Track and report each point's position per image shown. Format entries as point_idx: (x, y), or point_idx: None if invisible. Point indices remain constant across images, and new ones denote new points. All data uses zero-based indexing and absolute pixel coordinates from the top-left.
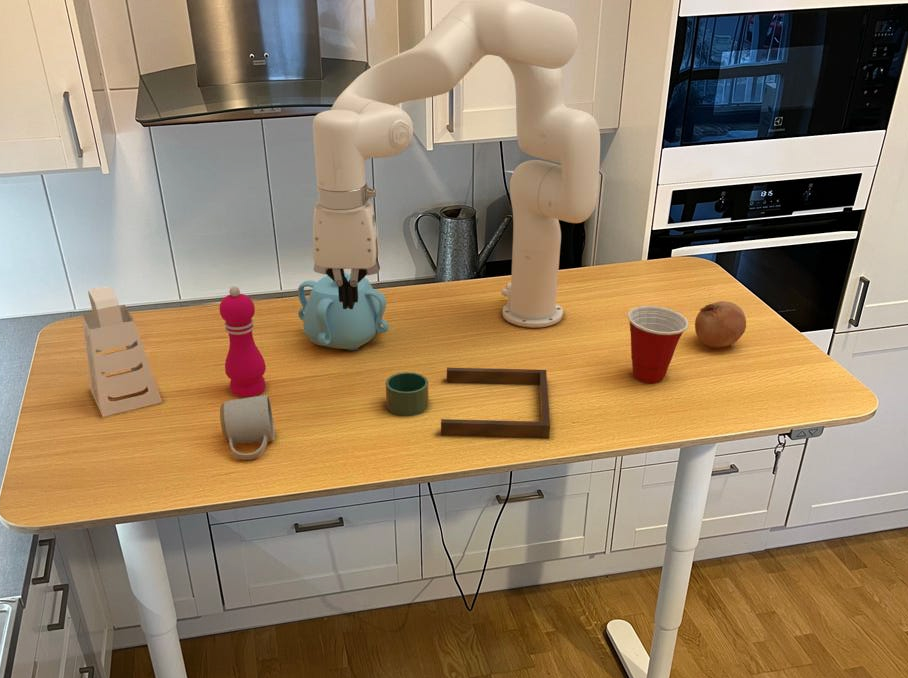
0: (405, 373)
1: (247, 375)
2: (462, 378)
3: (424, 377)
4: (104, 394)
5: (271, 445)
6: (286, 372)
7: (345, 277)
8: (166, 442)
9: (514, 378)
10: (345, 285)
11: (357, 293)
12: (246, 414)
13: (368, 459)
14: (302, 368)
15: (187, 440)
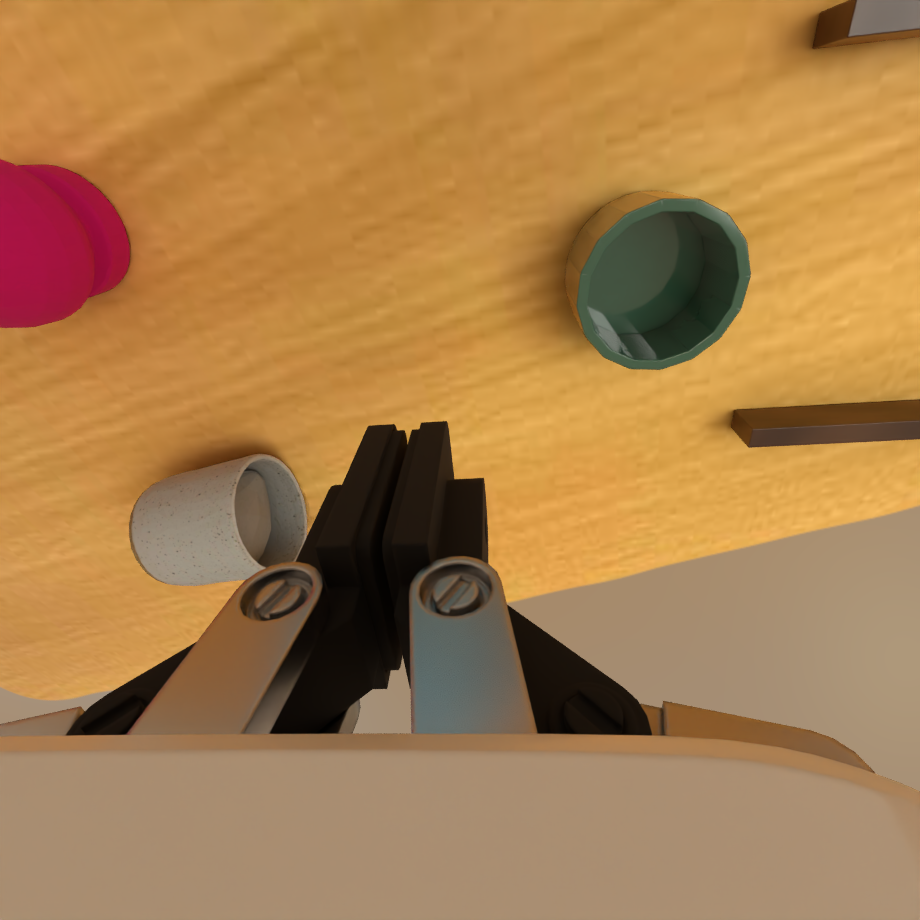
0: (657, 212)
1: (59, 318)
2: (899, 36)
3: (738, 239)
4: None
5: (305, 505)
6: (117, 60)
7: (339, 627)
8: (71, 514)
9: None
10: (379, 646)
11: (485, 538)
12: (226, 581)
13: (543, 532)
14: (159, 3)
15: (109, 504)
